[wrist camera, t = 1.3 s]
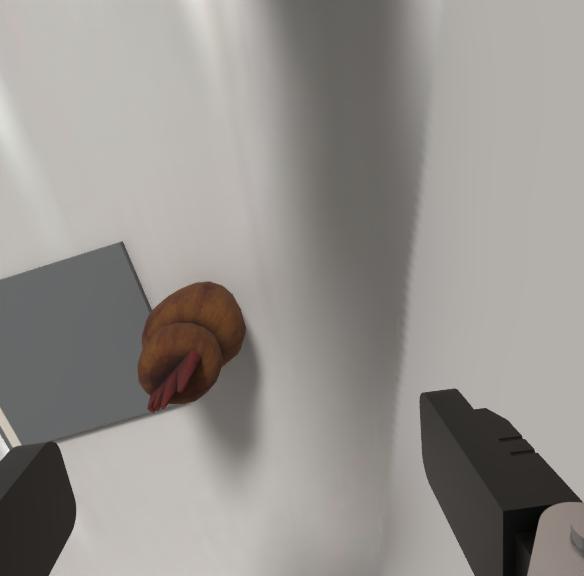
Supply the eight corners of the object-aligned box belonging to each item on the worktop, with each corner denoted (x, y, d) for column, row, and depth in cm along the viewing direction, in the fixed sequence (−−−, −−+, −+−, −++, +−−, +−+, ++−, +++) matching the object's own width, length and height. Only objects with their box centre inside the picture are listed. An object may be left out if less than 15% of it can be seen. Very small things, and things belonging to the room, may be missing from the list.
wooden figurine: (225, 259, 35) (187, 337, 21) (259, 322, 37) (246, 435, 22) (148, 296, 36) (62, 397, 22) (185, 356, 37) (127, 487, 23)
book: (122, 241, 34) (119, 243, 34) (189, 397, 39) (187, 401, 38) (-70, 301, 36) (-76, 304, 35) (14, 447, 40) (10, 452, 39)
